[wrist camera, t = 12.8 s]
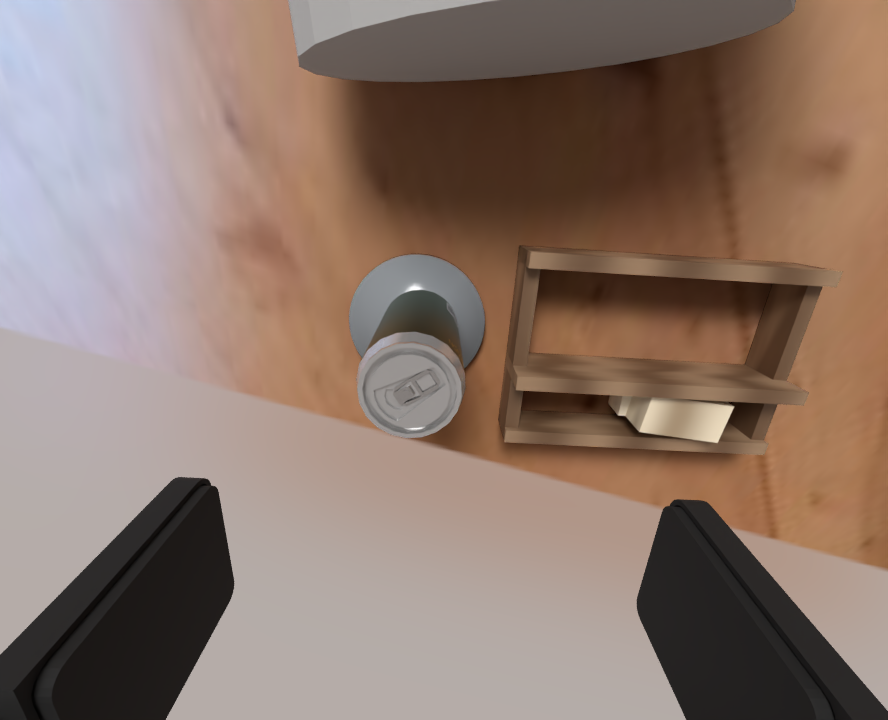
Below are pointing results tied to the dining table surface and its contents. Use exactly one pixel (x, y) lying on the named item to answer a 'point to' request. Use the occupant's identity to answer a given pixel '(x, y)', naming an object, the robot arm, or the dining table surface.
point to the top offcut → (680, 417)
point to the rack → (740, 384)
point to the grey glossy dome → (417, 275)
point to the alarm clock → (509, 34)
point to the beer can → (413, 367)
